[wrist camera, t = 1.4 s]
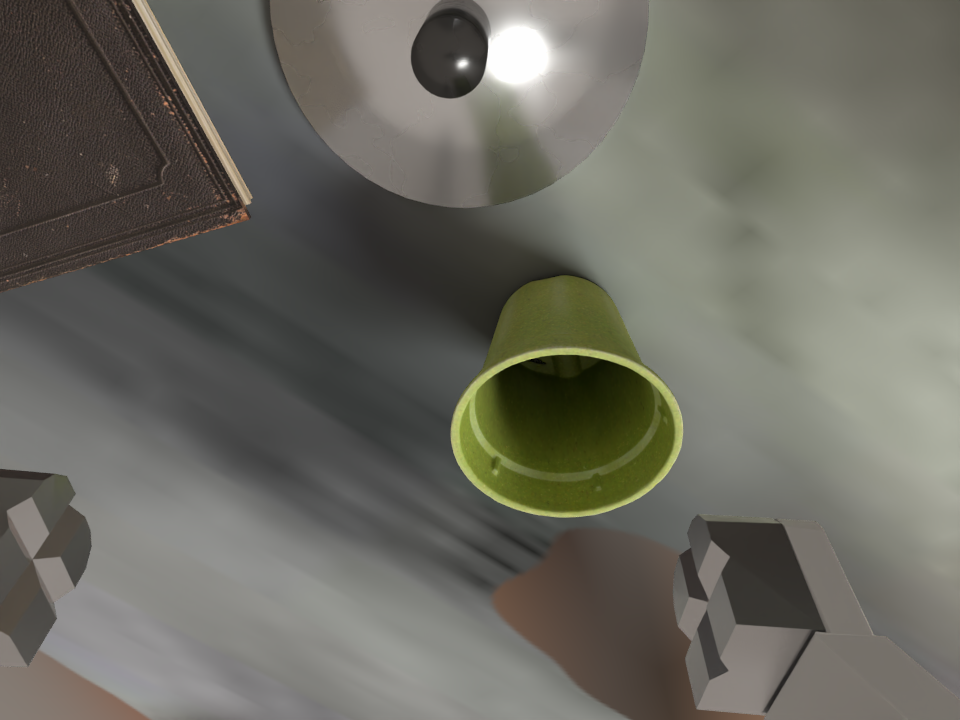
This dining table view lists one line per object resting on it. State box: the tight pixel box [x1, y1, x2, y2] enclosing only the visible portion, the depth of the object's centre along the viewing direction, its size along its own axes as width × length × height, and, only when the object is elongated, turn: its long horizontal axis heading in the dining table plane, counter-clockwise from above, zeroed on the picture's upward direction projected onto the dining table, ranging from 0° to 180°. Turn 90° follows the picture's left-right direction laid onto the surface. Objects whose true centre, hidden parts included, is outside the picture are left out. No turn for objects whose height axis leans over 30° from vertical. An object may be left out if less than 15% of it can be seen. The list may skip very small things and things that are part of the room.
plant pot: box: [451, 275, 683, 517], centre depth 32 cm, size 9×9×9 cm
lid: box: [270, 0, 649, 208], centre depth 26 cm, size 15×15×5 cm
